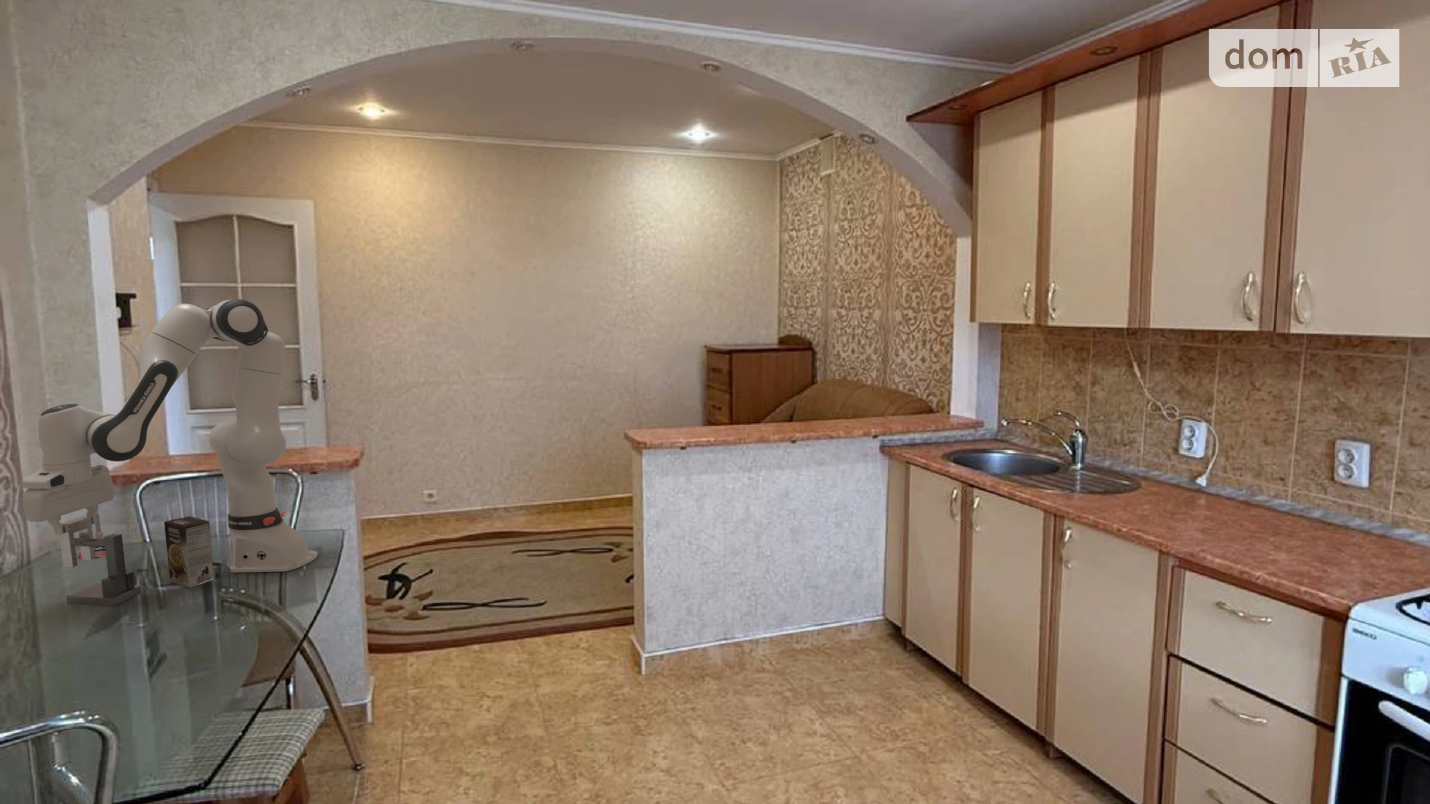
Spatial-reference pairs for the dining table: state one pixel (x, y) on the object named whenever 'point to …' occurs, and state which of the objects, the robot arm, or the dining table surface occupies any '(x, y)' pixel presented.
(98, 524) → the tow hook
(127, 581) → the grey hook stand
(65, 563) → the beige u-shaped piece
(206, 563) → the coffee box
